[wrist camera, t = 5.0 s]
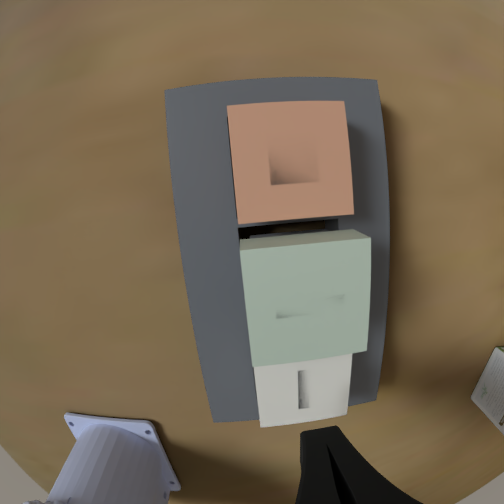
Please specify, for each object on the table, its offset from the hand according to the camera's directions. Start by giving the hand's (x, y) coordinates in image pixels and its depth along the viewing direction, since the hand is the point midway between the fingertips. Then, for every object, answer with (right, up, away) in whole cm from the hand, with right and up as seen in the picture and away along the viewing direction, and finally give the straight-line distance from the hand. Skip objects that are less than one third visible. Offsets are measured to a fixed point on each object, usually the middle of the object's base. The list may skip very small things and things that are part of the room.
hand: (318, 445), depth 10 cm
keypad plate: (-1, +7, +7) cm, 10 cm away
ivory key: (0, +2, +8) cm, 8 cm away
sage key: (-1, +6, +5) cm, 8 cm away
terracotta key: (-1, +12, +6) cm, 13 cm away
